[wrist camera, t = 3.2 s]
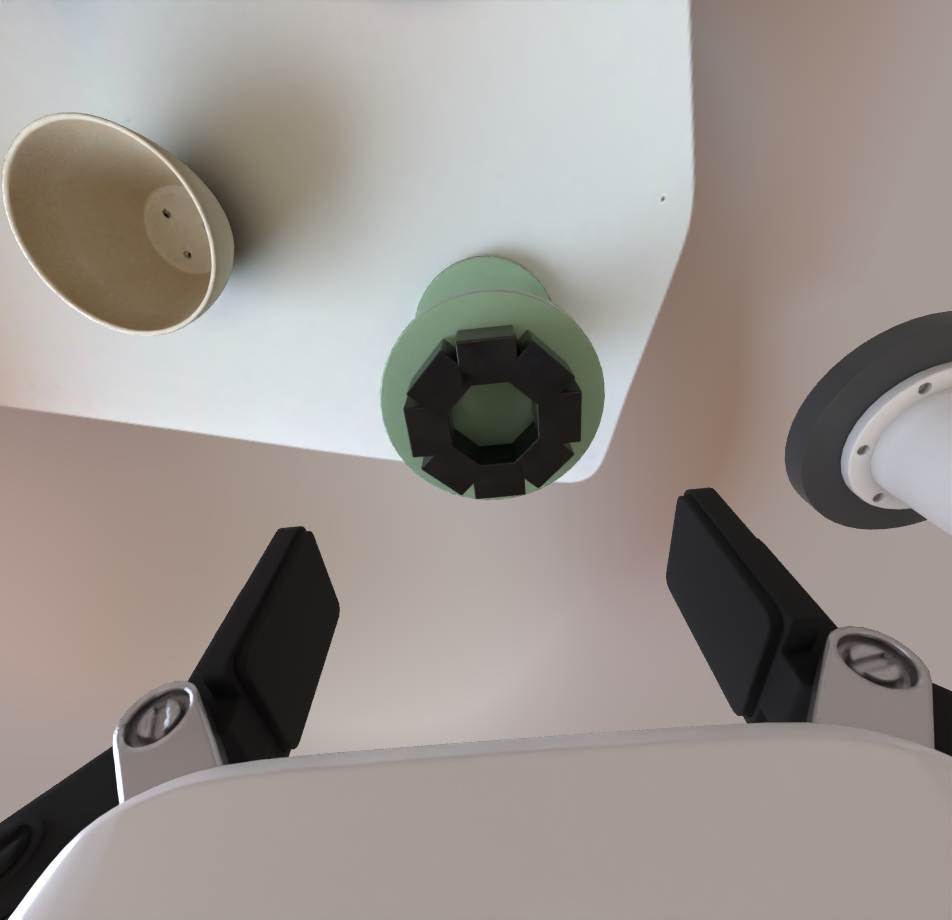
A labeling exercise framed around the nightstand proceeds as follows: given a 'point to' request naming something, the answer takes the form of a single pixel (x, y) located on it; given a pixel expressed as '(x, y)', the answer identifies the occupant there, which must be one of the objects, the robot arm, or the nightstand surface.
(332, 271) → the nightstand surface
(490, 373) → the ring
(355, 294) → the nightstand surface
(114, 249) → the flower pot
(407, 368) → the stand
